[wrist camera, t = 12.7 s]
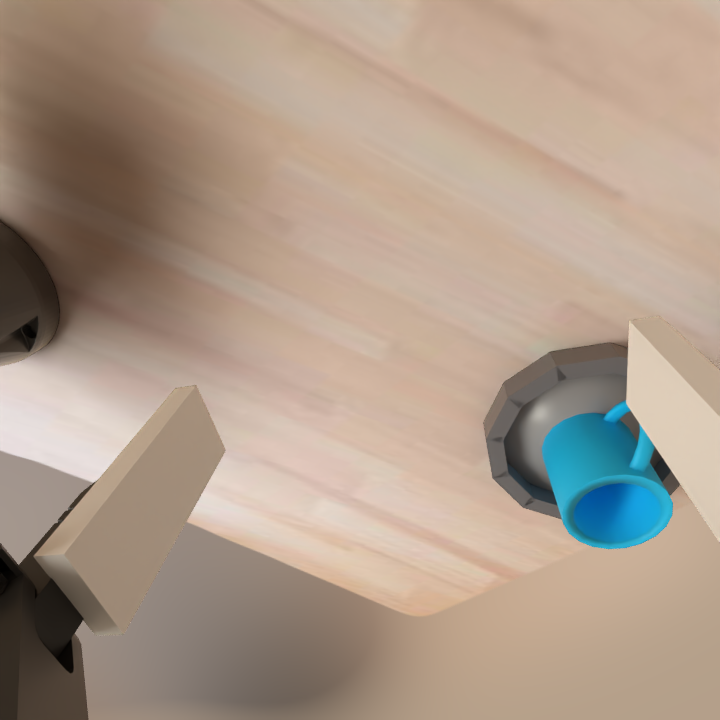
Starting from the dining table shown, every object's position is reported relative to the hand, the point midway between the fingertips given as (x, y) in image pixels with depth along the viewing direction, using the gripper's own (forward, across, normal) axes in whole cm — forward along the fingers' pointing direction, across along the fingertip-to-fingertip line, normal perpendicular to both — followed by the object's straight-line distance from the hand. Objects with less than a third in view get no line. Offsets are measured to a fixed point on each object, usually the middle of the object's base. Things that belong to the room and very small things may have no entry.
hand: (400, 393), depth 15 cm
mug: (+25, +13, -23) cm, 36 cm away
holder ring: (+26, +12, -23) cm, 36 cm away
